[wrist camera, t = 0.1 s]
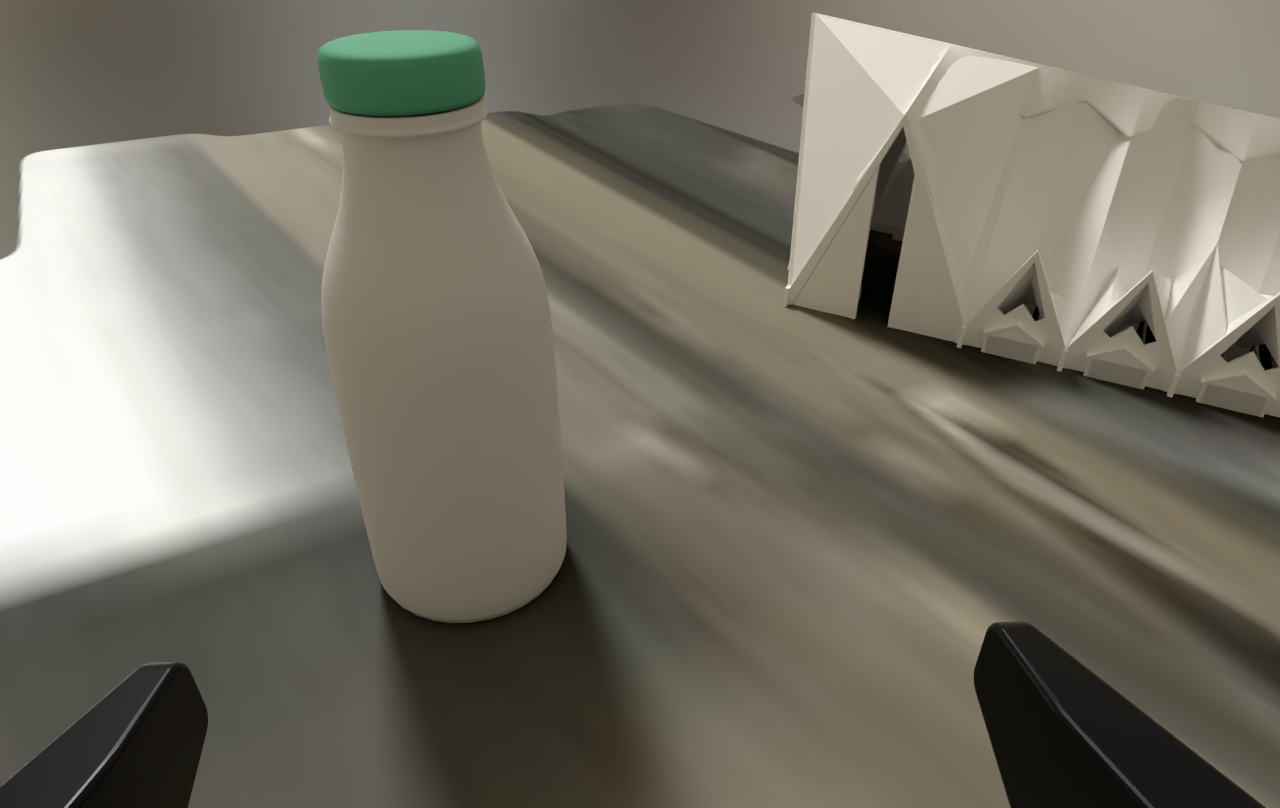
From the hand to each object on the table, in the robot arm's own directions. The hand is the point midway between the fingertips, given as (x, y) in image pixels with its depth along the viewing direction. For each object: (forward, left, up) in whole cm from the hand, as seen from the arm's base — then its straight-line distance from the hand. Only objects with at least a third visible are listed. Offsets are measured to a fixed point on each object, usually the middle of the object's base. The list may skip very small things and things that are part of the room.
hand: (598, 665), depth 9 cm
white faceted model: (+45, -35, -17) cm, 59 cm away
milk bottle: (+20, +5, -17) cm, 26 cm away
